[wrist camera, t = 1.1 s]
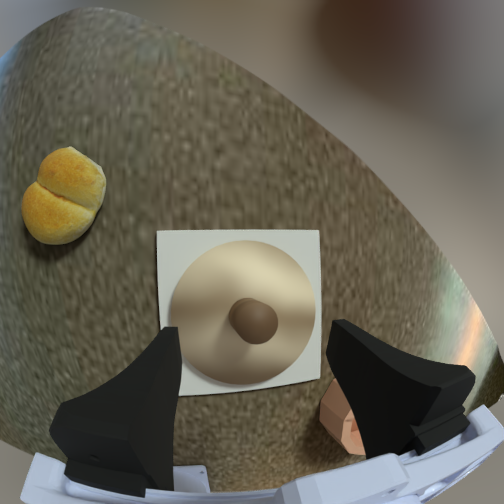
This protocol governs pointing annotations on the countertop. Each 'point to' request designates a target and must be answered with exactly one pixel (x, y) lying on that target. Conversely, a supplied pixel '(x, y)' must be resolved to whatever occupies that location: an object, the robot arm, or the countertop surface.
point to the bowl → (340, 419)
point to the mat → (199, 241)
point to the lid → (243, 312)
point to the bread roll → (63, 197)
